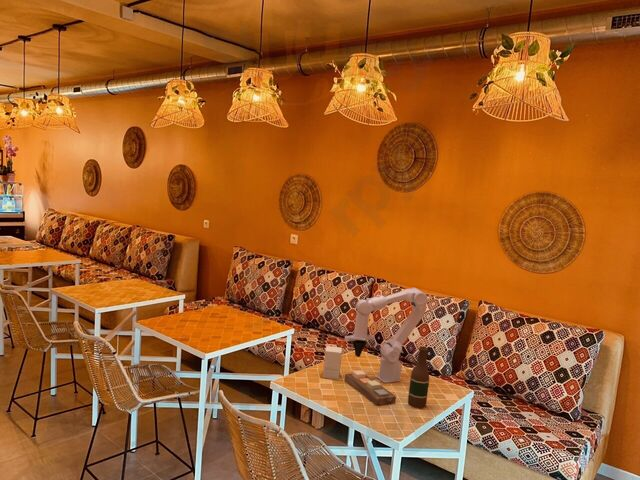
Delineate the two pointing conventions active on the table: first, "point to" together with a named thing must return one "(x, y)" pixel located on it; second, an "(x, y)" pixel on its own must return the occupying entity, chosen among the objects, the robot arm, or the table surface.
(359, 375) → the key ivory
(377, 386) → the key sage
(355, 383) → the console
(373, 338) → the robot arm
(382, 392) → the key slate
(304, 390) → the table surface
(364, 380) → the key terracotta
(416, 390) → the beer bottle
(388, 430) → the table surface
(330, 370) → the supplement box
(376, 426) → the table surface
